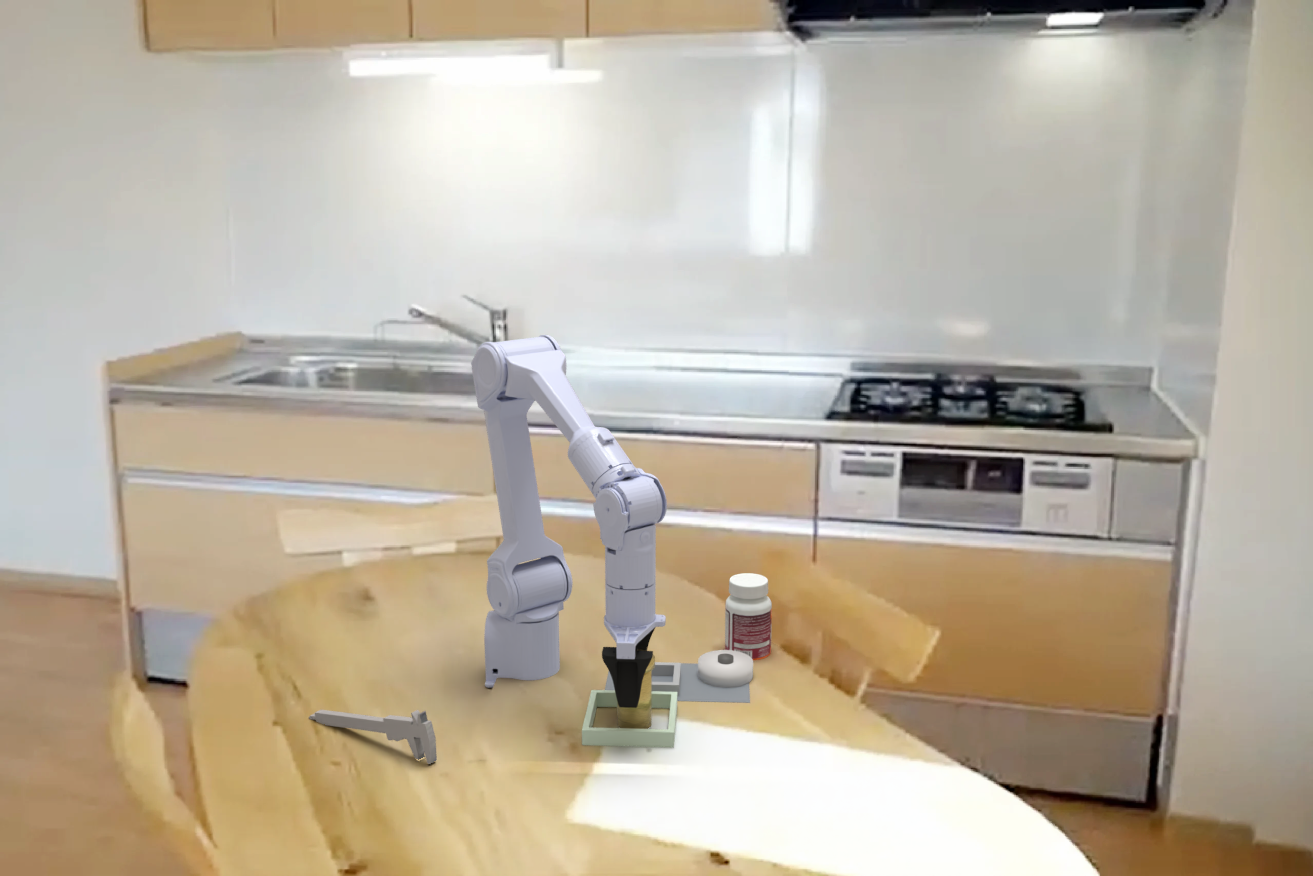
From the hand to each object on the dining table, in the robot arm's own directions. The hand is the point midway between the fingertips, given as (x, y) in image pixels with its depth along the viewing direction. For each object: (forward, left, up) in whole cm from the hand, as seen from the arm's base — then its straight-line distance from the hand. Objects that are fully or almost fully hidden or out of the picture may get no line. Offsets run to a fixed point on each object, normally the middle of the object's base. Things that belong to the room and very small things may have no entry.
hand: (630, 691), depth 143 cm
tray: (0, 0, -5) cm, 5 cm away
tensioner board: (+5, +12, -5) cm, 14 cm away
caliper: (-30, -3, -6) cm, 31 cm away
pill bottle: (+14, +22, -6) cm, 27 cm away
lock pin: (0, 0, -5) cm, 5 cm away
